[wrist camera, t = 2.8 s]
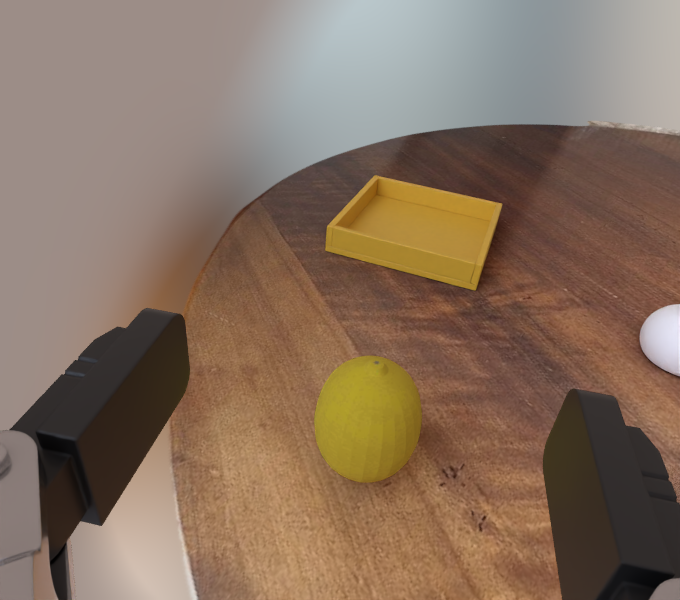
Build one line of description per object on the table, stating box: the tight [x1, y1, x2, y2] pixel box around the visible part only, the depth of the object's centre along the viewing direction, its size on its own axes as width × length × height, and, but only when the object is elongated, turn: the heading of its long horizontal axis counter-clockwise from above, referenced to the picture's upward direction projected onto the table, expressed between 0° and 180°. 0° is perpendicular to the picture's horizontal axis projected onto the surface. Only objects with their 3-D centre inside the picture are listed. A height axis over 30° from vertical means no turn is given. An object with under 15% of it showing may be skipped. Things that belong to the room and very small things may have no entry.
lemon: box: [314, 356, 422, 483], centre depth 28 cm, size 6×6×8 cm
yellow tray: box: [325, 175, 503, 291], centre depth 53 cm, size 14×14×3 cm
